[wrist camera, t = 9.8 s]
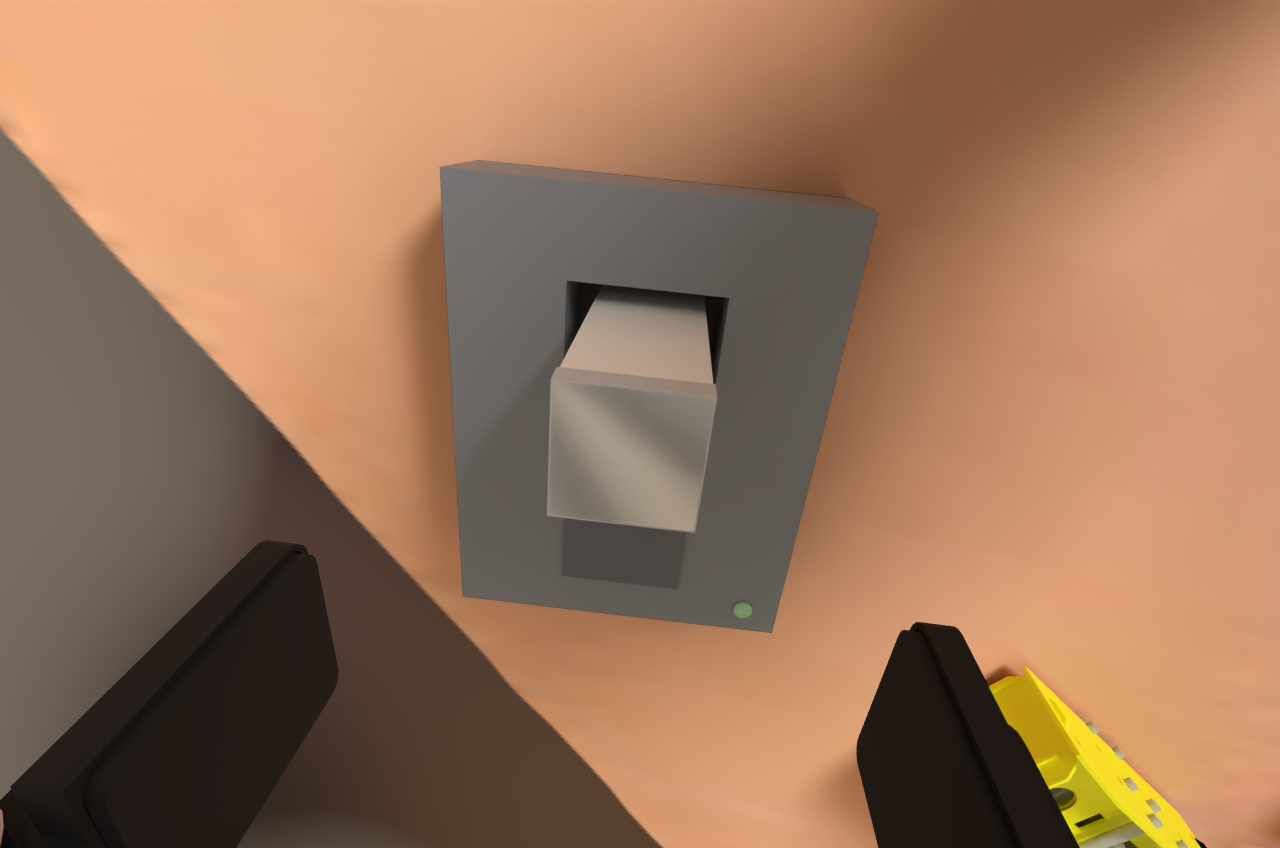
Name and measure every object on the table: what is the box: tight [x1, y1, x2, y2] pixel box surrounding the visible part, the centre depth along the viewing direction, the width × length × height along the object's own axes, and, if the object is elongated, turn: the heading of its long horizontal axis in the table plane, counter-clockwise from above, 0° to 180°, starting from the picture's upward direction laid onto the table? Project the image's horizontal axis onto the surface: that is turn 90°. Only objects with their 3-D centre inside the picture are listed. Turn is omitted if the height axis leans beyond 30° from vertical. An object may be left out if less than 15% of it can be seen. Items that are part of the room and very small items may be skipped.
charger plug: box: [547, 284, 717, 533], centre depth 20 cm, size 4×4×10 cm
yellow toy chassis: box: [989, 666, 1207, 848], centre depth 31 cm, size 16×6×8 cm, turn 46°
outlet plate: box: [440, 160, 878, 633], centre depth 25 cm, size 18×14×4 cm
